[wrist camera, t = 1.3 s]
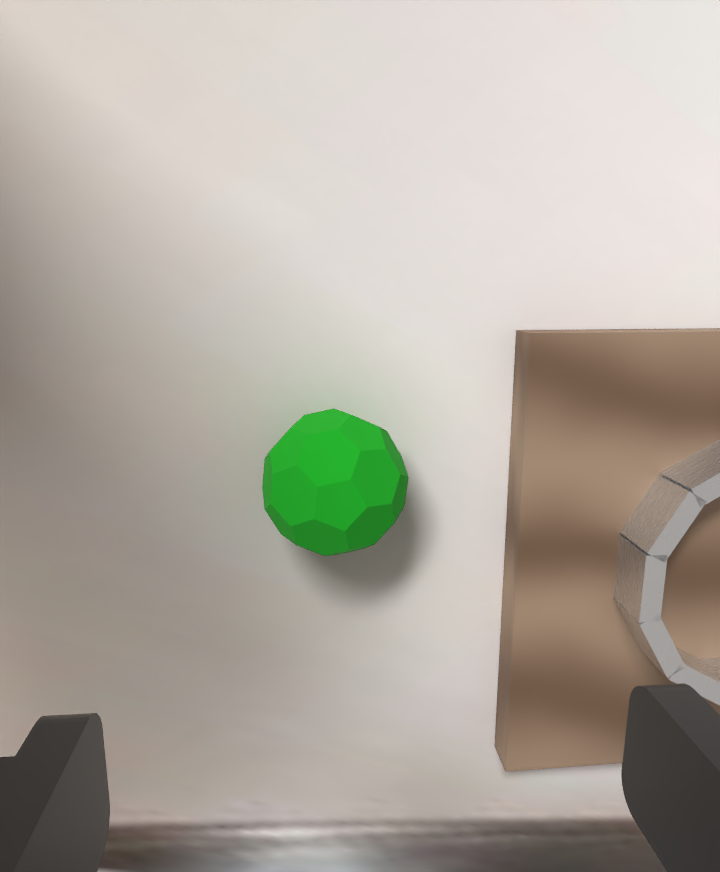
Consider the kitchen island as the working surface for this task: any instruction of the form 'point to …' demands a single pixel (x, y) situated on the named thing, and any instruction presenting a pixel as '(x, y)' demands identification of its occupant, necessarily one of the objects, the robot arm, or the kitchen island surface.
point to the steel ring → (647, 559)
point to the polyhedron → (334, 483)
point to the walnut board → (597, 532)
